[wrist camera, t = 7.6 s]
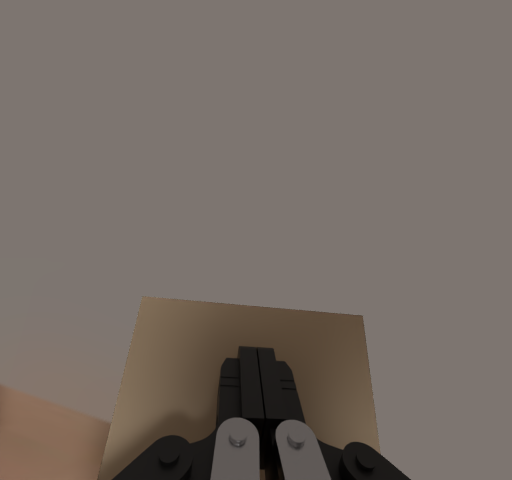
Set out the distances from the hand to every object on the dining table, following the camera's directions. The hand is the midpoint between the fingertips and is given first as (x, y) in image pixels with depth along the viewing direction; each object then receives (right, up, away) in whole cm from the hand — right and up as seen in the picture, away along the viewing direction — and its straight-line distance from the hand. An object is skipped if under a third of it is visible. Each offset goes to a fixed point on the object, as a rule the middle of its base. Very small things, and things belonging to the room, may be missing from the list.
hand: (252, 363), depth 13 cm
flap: (0, -7, -3) cm, 7 cm away
